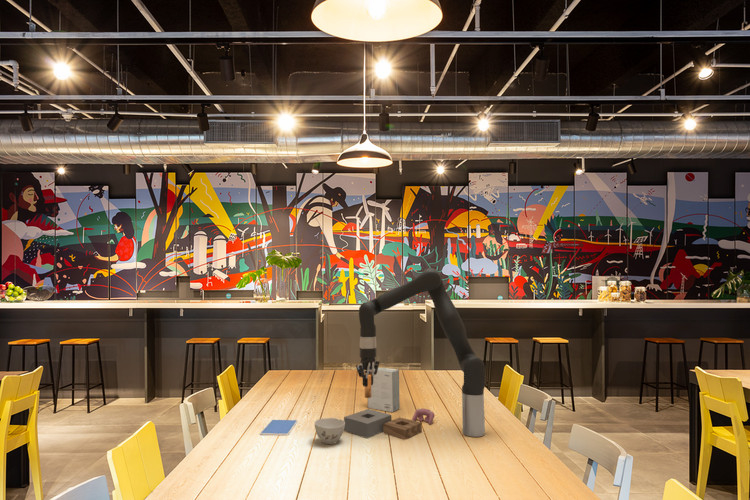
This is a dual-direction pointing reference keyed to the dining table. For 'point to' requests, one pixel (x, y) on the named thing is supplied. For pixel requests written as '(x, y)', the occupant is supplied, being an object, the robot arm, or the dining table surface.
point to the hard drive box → (385, 390)
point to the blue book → (279, 427)
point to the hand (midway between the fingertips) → (367, 385)
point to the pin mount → (402, 428)
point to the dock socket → (366, 423)
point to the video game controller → (426, 412)
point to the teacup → (329, 429)
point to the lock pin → (368, 387)
